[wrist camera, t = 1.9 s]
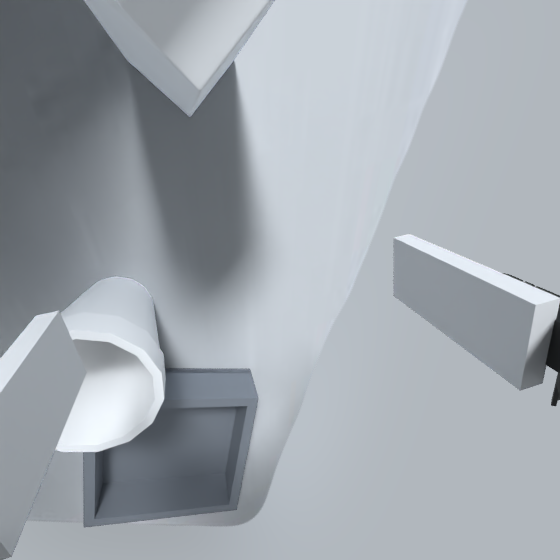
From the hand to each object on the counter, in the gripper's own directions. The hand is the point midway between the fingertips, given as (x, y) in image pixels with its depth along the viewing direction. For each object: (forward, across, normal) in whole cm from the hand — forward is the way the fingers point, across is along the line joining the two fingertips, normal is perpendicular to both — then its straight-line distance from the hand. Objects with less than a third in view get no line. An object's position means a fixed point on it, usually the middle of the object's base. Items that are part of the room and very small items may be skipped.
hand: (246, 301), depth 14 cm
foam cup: (+21, -10, -8) cm, 25 cm away
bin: (+21, -10, -24) cm, 33 cm away
